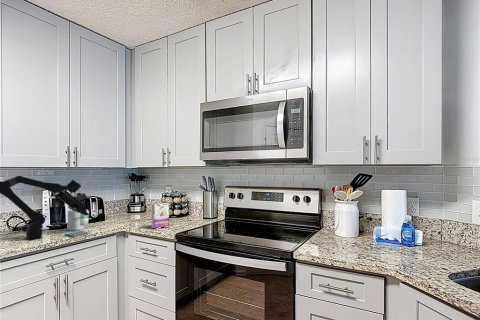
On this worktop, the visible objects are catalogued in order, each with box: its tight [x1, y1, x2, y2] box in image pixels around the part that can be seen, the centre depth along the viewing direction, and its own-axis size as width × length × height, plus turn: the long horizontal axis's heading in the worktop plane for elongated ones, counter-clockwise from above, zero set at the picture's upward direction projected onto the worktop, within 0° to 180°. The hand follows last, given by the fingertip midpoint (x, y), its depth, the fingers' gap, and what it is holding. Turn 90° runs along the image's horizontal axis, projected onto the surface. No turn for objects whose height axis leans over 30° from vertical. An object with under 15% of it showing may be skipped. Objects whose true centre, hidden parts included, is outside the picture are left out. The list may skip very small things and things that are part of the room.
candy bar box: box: [151, 203, 170, 229], centre depth 189 cm, size 11×5×16 cm, turn 129°
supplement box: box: [67, 209, 84, 232], centre depth 184 cm, size 7×7×13 cm
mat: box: [64, 230, 89, 238], centre depth 167 cm, size 9×9×1 cm
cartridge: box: [80, 208, 90, 226], centre depth 177 cm, size 5×5×10 cm
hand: (86, 214), depth 178 cm, fingers closed on cartridge, 5 cm apart
